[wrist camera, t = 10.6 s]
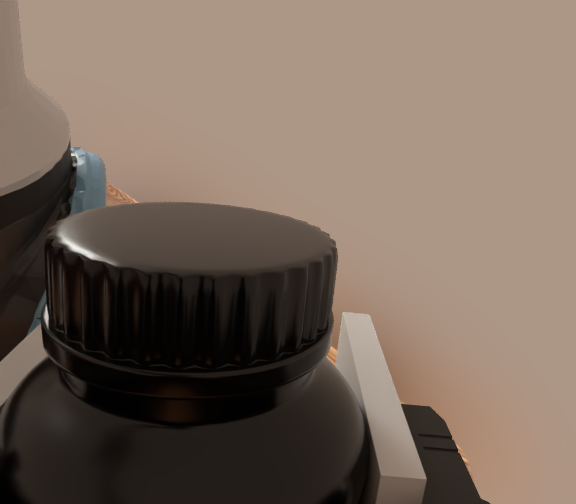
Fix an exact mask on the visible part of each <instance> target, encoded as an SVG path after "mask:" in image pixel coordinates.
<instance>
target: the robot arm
mask: <svg viewBox="0 0 576 504" xmlns="http://www.w3.org/2000/svg"><path fill="white" fill-rule="evenodd" d="M104 206H106V172H105V165H104V162H103V160H102V159H101V158H100V157H99V156H98V155H96V154H94V153H89V152H86V151H85V150H81V149H80V147H74V148H72V149H71V148H70V128H69V122H68V119H67V117H66V114H65V112H64V110H63V109H62V107H61V106H60V105H59V104H58V103H57V102H56V101H55V100H54V99H53V98H52V97H51V96H50V95H48V94H47V93H46V92H45V91H43V90H42V89H41V88H39V87H38V86H37V85H36V84H34V83H33V82H32V81H31V80H29V79H28V78H27V77H26V75H25V73H24V64H23V53H22V44H21V34H20V22H19V12H18V2H17V0H0V412H1V410H2V408H3V406H4V404H5V402H6V401H7V399H8V398H9V396H10V395H11V393H12V392H13V390H14V389H15V388H16V386H17V385H18V384H19V382H20V381H21V380H22V379H23V378H24V377H25V376H26V375H27V373H28V372H29V371H30V370H31V369H32V368H34V367H35V366H36V365H37V364H38V363H39V362H40V361H41V360H43V359H44V358H45V357H47V356H48V355H47V353H46V351H45V349H44V347H43V341H42V331H41V311H42V308H43V305H44V304H45V302H46V283H45V257H44V247H45V241H46V237H47V233H48V229H49V228H50V227H52V226H54V225H56V221H59V220H61V219H65V218H67V216H68V215H72V214H76V213H80V212H82V211H84V210H90V209H96V208H100V207H104ZM335 367H336V368H337V369H338V370H339V372H340V373H341V374H342V375H343V377H344V378H345V379H346V381H347V382H348V384H349V385H350V387H351V389H352V390H353V392H354V394H355V396H356V398H357V400H358V403H359V405H360V407H361V410H362V412H363V415H364V419H365V423H366V427H367V431H368V440H369V457H368V469H367V480H366V487H365V493H364V500H363V504H490V503H489V502H487V501H485V500H482V499H481V498H480V496H479V494H478V492H477V489H476V487H475V485H474V483H473V481H472V479H471V476H470V474H469V472H468V470H467V468H466V466H465V463H464V461H463V459H462V457H461V455H460V453H458V448H457V446H456V444H455V442H454V440H452V435H451V433H450V431H449V429H448V427H447V425H446V423H445V421H444V420H443V419H442V418H441V417H440V416H439V415H438V414H437V413H436V412H435V411H434V410H433V409H432V408H431V407H429V406H418V405H406V404H400V401H399V398H398V395H397V392H396V389H395V386H394V384H393V381H392V378H391V375H390V372H389V369H388V367H387V364H386V361H385V358H384V355H383V352H382V349H381V347H380V344H379V341H378V338H377V335H376V332H375V329H374V326H373V323H372V320H371V318H370V315H369V314H358V313H348V312H343V314H342V321H341V328H340V335H339V342H338V349H337V356H336V364H335Z"/></svg>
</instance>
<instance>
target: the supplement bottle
mask: <svg viewBox="0 0 576 504" xmlns="http://www.w3.org/2000/svg"><path fill="white" fill-rule="evenodd" d="M44 257H45V283H46V302H45V304H44V305H43V308H42V311H41V331H42V341H43V347H44V349H45V351H46V353H47V355H48V356H47V357H45V358H44V359H43V360H41V361H40V362H39V363H38V364H37V365H36V366H35V367H34V368H32V369H31V370H30V371H29V372H28V373H27V375H26V376H25V377H24V378H23V379H22V380H21V381H20V382H19V384H18V385H17V386H16V388H15V389H14V390H13V392H12V393H11V395H10V396H9V398H8V399H7V401H6V402H5V404H4V406H3V408H2V410H1V412H0V504H363V500H364V493H365V487H366V480H367V469H368V457H369V440H368V431H367V427H366V423H365V419H364V415H363V412H362V410H361V407H360V405H359V403H358V400H357V398H356V396H355V394H354V392H353V390H352V389H351V387H350V385H349V384H348V382H347V381H346V379H345V378H344V377H343V375H342V374H341V373H340V372H339V370H338V369H337V368H336V367H335V366H334V365H333V364H332V363H331V362H330V361H329V360H328V359H327V358H326V355H327V354H328V352H329V349H330V346H331V339H332V332H333V323H334V317H333V312H332V303H333V295H334V286H335V279H336V278H335V277H336V270H337V261H338V255H337V248H336V242H335V241H334V240H333V239H331V238H330V236H329V234H328V233H326V232H323V231H321V229H320V228H318V227H316V226H312V225H310V224H308V223H307V222H304V221H301V220H297V219H294V218H291V217H288V216H284V215H279V214H275V213H272V212H267V211H260V210H256V209H251V208H242V207H236V206H229V205H218V204H209V203H190V202H152V203H151V202H149V203H148V202H147V203H133V204H120V205H114V206H104V207H100V208H96V209H90V210H84V211H82V212H80V213H76V214H72V215H68V216H67V218H65V219H61V220H59V221H56V225H54V226H52V227H50V228H49V229H48V233H47V237H46V241H45V247H44Z"/></svg>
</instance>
